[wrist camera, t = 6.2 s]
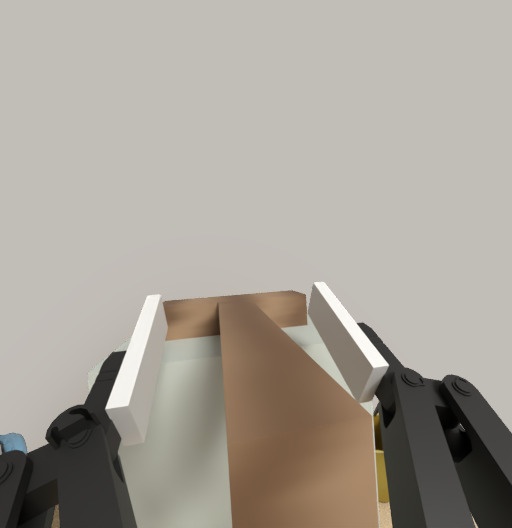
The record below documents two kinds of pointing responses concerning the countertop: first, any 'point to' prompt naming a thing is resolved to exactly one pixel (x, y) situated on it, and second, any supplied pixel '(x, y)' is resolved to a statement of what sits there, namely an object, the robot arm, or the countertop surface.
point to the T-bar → (283, 417)
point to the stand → (194, 435)
